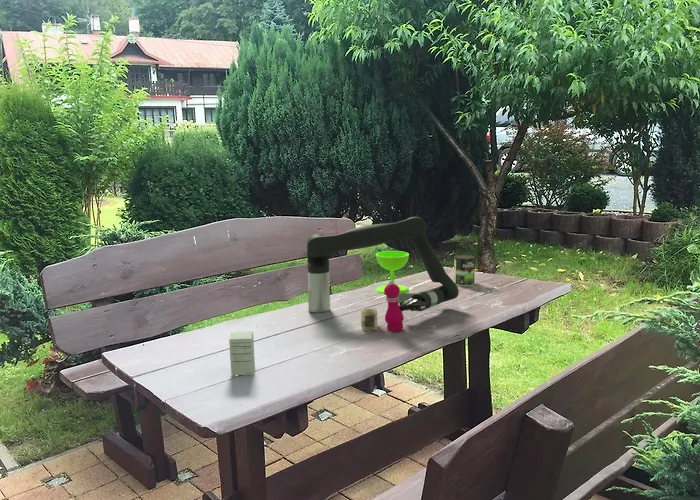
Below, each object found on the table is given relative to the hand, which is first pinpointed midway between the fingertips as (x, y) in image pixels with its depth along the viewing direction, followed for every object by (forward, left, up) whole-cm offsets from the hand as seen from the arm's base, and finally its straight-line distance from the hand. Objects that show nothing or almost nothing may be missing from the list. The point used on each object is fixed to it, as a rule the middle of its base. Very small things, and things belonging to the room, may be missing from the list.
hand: (398, 309), depth 241 cm
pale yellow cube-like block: (-12, +1, -8) cm, 14 cm away
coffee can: (+40, +66, -8) cm, 78 cm away
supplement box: (-56, -41, -8) cm, 69 cm away
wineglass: (+3, +57, -8) cm, 58 cm away
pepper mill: (-2, -2, -8) cm, 8 cm away
